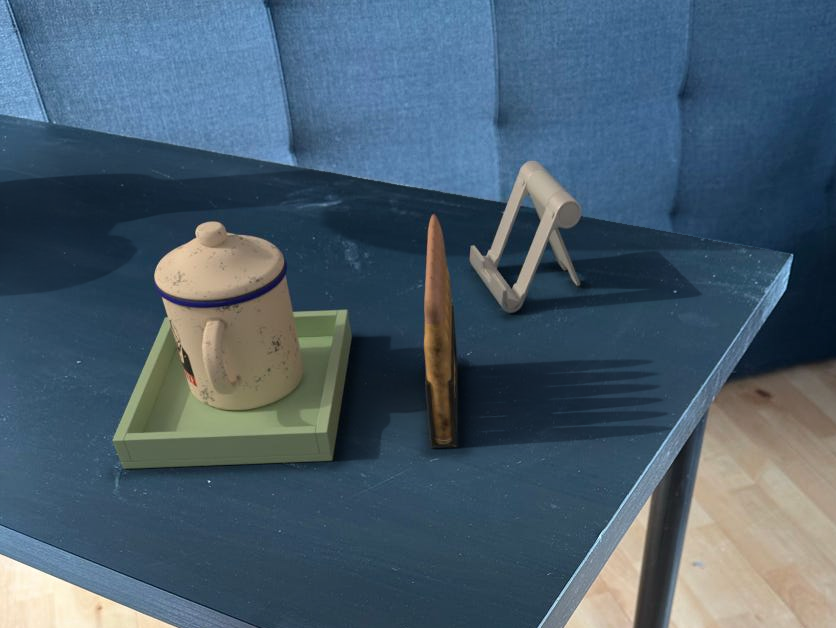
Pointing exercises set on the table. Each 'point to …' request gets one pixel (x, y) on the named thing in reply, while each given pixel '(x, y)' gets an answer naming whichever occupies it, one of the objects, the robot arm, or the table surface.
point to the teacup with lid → (231, 318)
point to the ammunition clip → (440, 345)
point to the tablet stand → (553, 213)
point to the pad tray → (238, 429)
